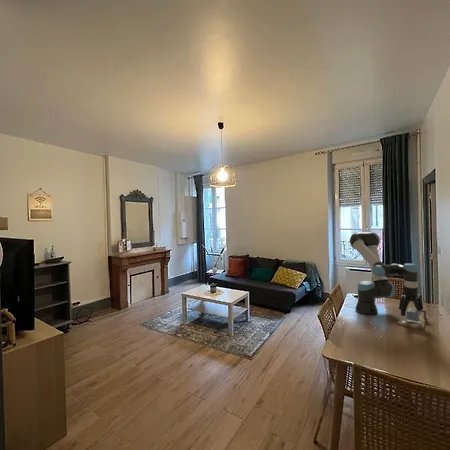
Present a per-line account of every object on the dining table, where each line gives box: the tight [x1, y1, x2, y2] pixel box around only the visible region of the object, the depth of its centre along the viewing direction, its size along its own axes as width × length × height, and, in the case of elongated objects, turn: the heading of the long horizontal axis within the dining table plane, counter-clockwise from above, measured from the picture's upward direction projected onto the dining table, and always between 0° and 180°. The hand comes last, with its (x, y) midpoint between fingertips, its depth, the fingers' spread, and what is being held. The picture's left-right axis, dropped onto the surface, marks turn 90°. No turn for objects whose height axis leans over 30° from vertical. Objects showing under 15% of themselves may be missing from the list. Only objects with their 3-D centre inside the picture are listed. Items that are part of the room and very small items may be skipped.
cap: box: [406, 308, 419, 321], centre depth 170 cm, size 11×8×6 cm
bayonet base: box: [397, 307, 427, 331], centre depth 176 cm, size 14×26×7 cm, turn 138°
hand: (411, 320), depth 170 cm, fingers closed on cap, 8 cm apart
